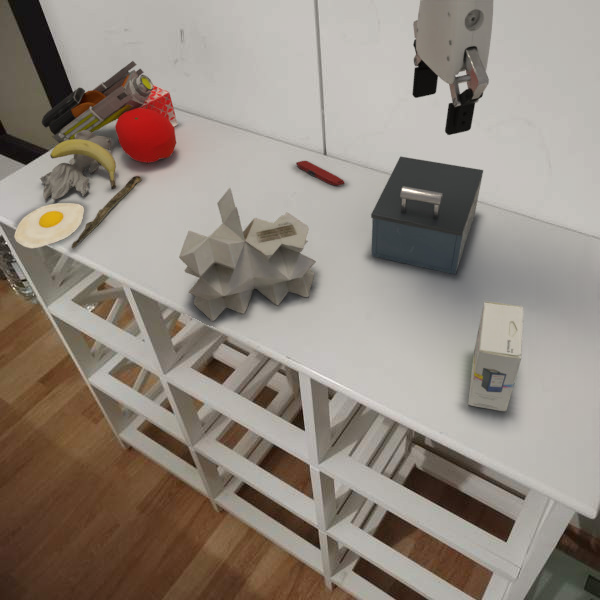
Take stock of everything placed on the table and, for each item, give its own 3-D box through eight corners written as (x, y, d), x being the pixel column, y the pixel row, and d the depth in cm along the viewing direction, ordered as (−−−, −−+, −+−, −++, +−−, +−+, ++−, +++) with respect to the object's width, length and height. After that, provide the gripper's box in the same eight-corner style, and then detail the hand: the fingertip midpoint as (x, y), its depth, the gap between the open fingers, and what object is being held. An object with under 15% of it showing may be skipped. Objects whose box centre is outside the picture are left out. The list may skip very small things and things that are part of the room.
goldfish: (78, 198, 109) (35, 165, 106) (62, 224, 116) (21, 194, 113) (130, 147, 123) (94, 116, 120) (113, 173, 129) (78, 145, 127)
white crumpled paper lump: (205, 224, 75) (193, 163, 85) (164, 320, 86) (157, 256, 96) (348, 257, 86) (322, 199, 96) (295, 339, 96) (277, 279, 106)
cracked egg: (76, 242, 104) (74, 236, 103) (8, 251, 104) (5, 245, 103) (87, 199, 113) (84, 194, 112) (24, 207, 113) (21, 202, 112)
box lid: (461, 236, 85) (466, 208, 81) (370, 218, 89) (371, 191, 85) (482, 173, 95) (488, 146, 91) (399, 160, 99) (401, 133, 95)
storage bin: (455, 274, 92) (462, 233, 85) (371, 256, 96) (372, 215, 90) (474, 215, 101) (482, 174, 95) (397, 200, 106) (399, 160, 99)
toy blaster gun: (114, 69, 109) (127, 42, 115) (35, 130, 121) (50, 103, 127) (150, 106, 114) (161, 78, 121) (71, 160, 127) (85, 133, 133)
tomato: (96, 129, 113) (117, 168, 121) (149, 137, 109) (167, 177, 117) (125, 95, 119) (144, 134, 127) (177, 101, 114) (192, 142, 123)
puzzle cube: (118, 96, 124) (140, 107, 120) (147, 81, 128) (169, 92, 124) (129, 129, 130) (150, 140, 126) (156, 114, 134) (177, 124, 130)
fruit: (114, 190, 115) (116, 181, 112) (47, 161, 111) (48, 151, 109) (126, 165, 119) (129, 155, 116) (62, 136, 115) (63, 126, 113)
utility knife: (301, 162, 116) (294, 166, 115) (301, 157, 115) (294, 162, 114) (345, 184, 110) (338, 190, 109) (345, 180, 109) (338, 185, 109)
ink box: (505, 413, 75) (525, 359, 66) (465, 405, 76) (479, 351, 67) (508, 361, 80) (526, 304, 71) (470, 354, 81) (484, 298, 72)
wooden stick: (69, 249, 103) (65, 241, 102) (137, 177, 117) (134, 169, 116) (76, 251, 103) (72, 242, 101) (143, 179, 117) (140, 170, 115)
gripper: (535, -14, 56) (500, 141, 68) (454, -63, 67) (437, 77, 80) (464, 0, 54) (442, 154, 67) (394, -53, 66) (387, 88, 79)
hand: (440, 112), depth 73 cm, fingers open, 9 cm apart
